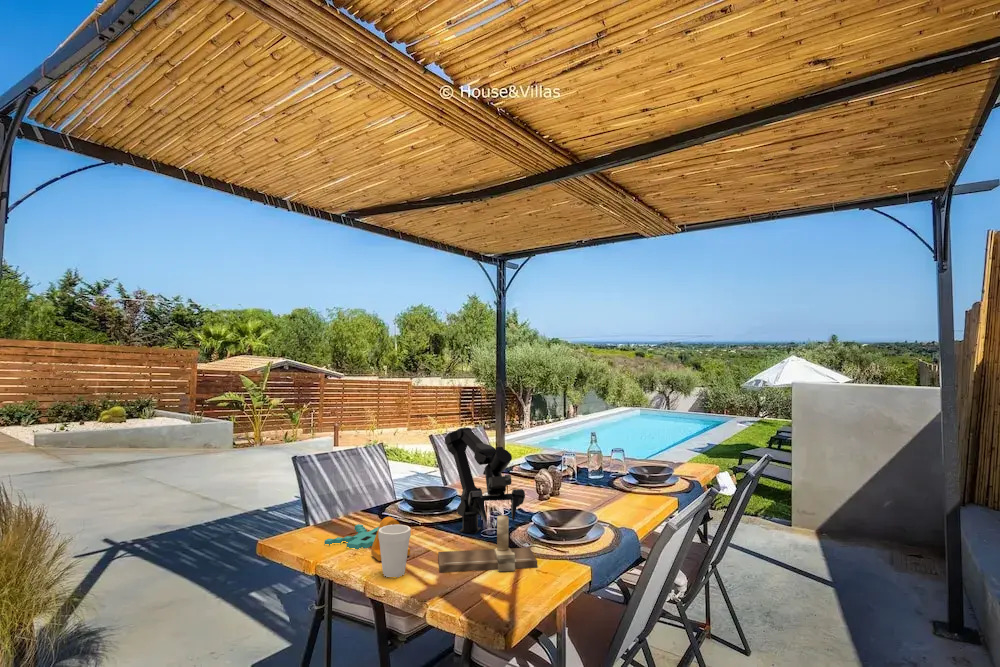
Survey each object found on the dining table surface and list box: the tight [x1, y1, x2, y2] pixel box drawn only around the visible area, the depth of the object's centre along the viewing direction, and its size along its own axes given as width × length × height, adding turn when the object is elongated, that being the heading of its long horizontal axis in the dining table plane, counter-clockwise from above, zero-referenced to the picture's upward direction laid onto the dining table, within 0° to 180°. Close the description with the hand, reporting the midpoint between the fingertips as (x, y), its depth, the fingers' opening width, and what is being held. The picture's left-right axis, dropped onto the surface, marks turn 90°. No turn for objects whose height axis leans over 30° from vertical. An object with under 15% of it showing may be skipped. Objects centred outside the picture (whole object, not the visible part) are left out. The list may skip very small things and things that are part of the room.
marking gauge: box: [494, 514, 516, 572], centre depth 165 cm, size 5×10×14 cm, turn 8°
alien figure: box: [324, 523, 379, 550], centre depth 189 cm, size 20×2×20 cm
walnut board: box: [437, 547, 538, 573], centre depth 167 cm, size 30×12×2 cm, turn 98°
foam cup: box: [378, 524, 412, 578], centre depth 159 cm, size 10×9×13 cm
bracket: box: [370, 516, 411, 562], centre depth 172 cm, size 11×7×12 cm, turn 122°
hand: (499, 521), depth 173 cm, fingers open, 9 cm apart
